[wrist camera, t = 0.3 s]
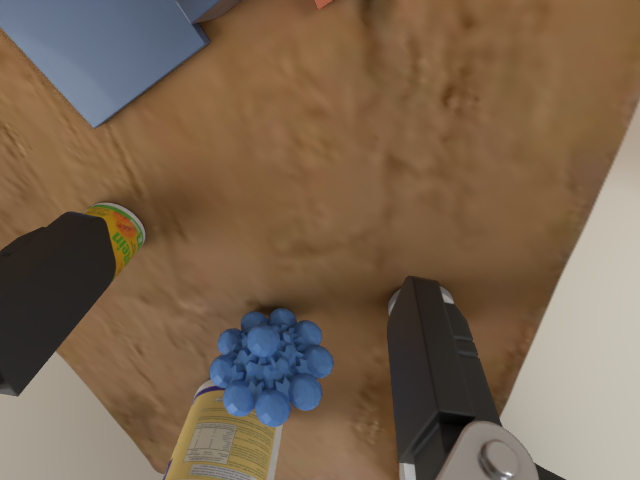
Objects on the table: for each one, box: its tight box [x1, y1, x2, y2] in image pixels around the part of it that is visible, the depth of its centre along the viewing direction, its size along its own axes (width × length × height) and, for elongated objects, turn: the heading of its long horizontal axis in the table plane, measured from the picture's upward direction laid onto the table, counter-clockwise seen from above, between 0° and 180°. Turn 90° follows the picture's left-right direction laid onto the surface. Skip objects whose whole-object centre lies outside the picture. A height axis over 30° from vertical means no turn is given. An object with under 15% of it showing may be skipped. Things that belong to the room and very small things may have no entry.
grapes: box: [210, 308, 334, 427], centre depth 31 cm, size 12×7×12 cm, turn 99°
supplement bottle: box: [82, 203, 145, 281], centre depth 28 cm, size 5×5×10 cm
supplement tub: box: [163, 379, 283, 480], centre depth 41 cm, size 12×12×17 cm
